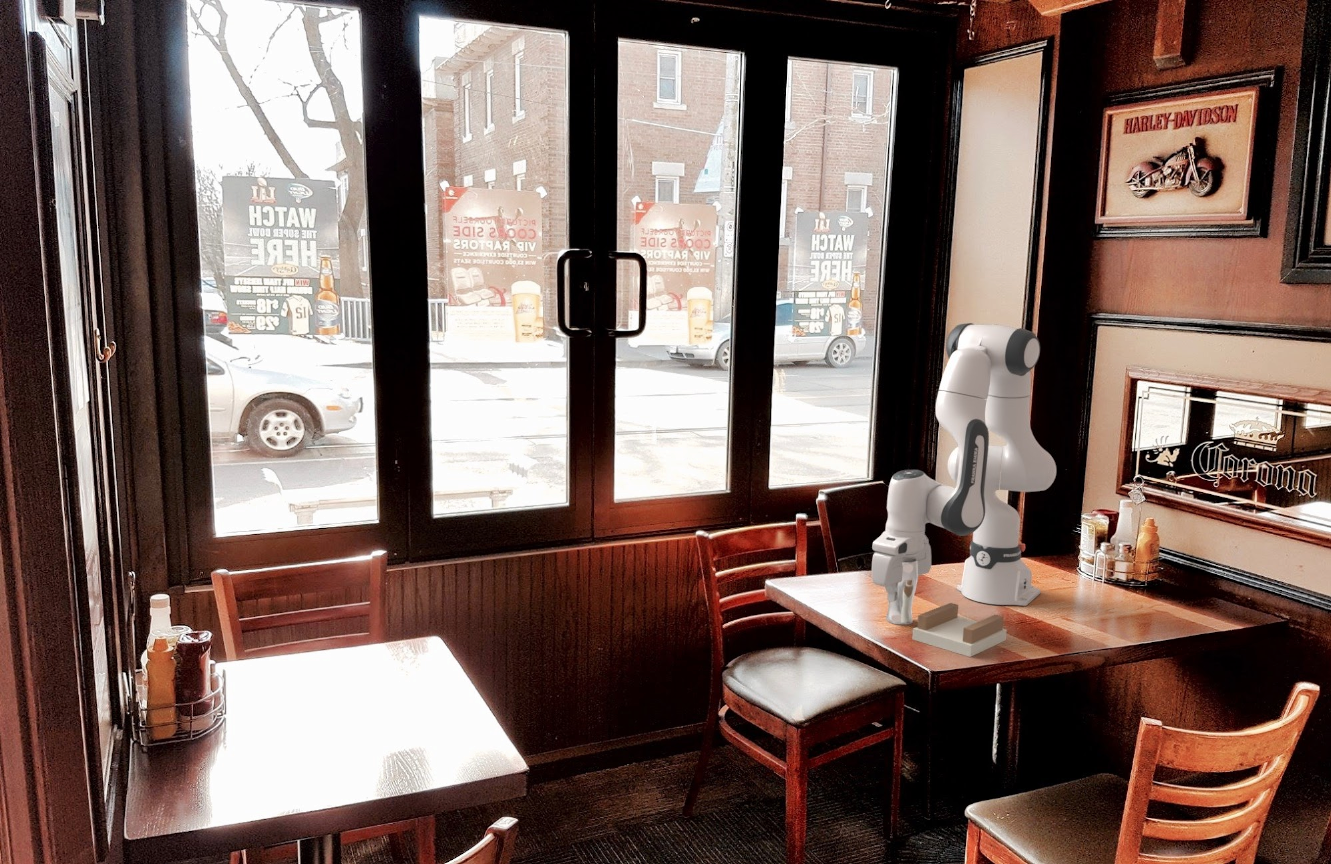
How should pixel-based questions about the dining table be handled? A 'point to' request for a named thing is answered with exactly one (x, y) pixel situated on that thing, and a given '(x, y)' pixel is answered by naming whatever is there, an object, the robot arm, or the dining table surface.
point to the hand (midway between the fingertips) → (900, 597)
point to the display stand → (958, 631)
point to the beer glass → (904, 595)
